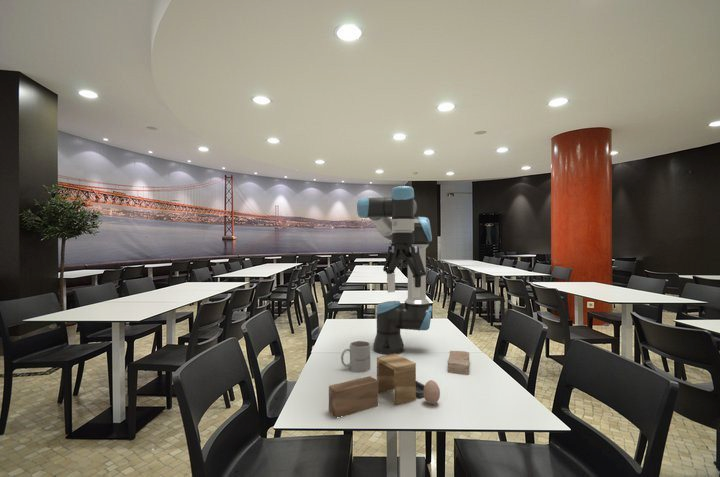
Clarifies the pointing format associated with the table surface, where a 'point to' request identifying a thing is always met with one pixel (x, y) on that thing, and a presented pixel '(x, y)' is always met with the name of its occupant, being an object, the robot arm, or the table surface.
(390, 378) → the tunnel
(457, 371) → the brick
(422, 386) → the tray
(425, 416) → the table surface
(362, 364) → the mug
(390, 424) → the table surface
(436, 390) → the egg
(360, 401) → the walnut block
